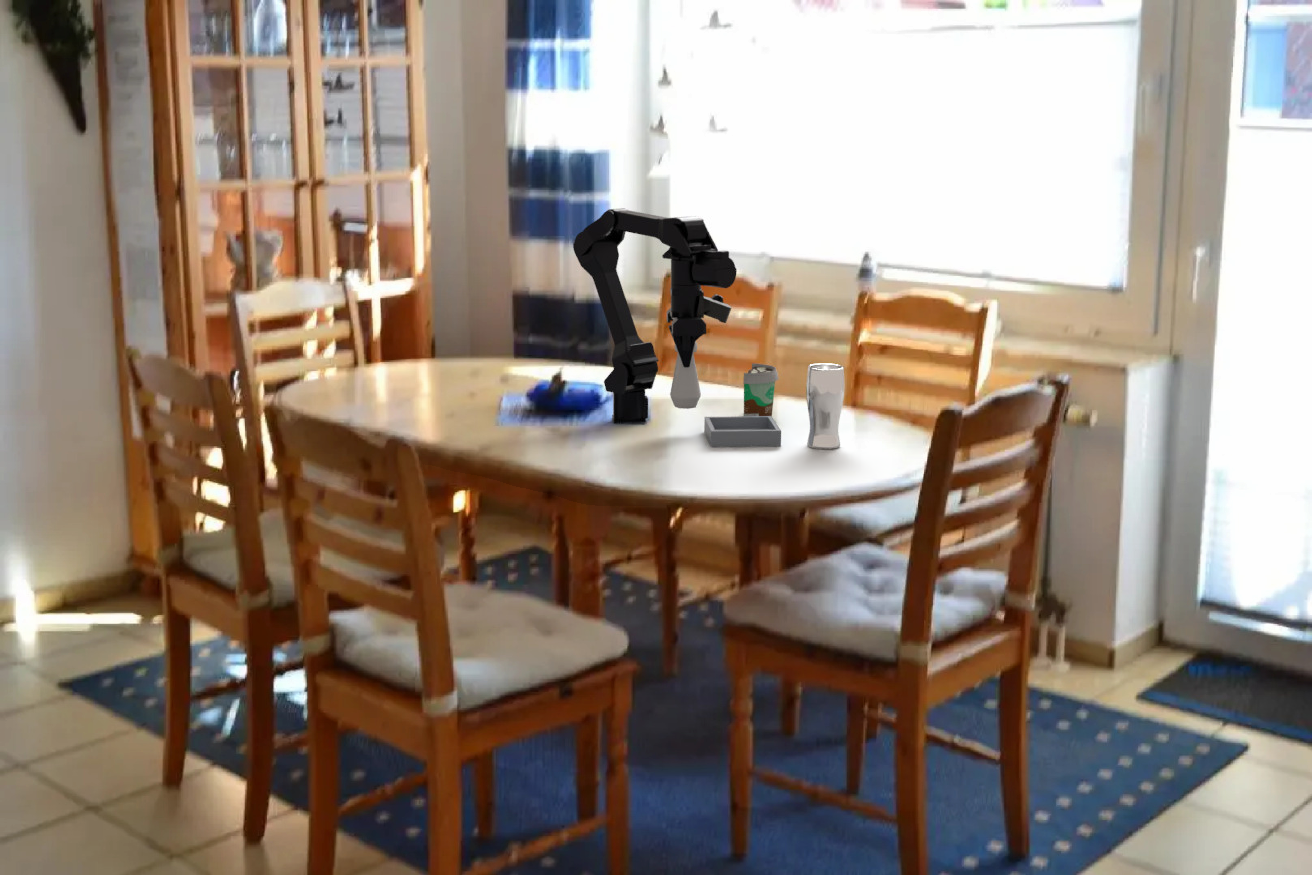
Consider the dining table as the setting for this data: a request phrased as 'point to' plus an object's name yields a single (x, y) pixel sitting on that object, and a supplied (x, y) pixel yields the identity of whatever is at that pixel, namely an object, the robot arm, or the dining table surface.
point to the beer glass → (824, 404)
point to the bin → (742, 431)
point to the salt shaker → (685, 384)
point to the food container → (759, 390)
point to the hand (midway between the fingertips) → (685, 365)
